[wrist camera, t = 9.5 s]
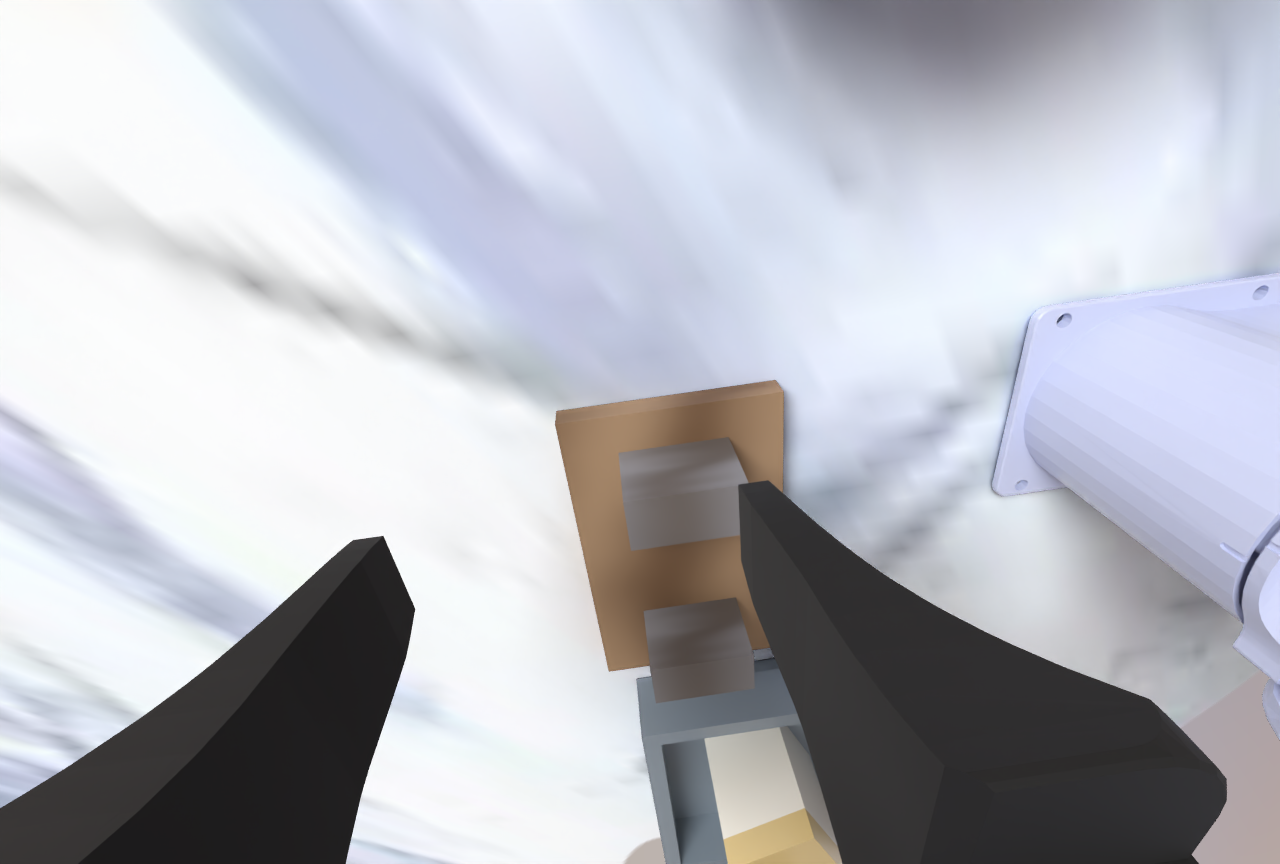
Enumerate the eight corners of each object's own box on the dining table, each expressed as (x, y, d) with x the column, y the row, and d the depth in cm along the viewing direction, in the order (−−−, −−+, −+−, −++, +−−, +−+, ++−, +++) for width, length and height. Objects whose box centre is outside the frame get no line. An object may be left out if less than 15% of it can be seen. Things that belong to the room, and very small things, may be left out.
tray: (873, 643, 28) (902, 697, 26) (855, 787, 35) (877, 842, 32) (636, 679, 28) (641, 737, 25) (661, 817, 34) (668, 875, 32)
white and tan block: (773, 708, 29) (814, 838, 24) (809, 754, 31) (853, 883, 26) (704, 737, 30) (729, 870, 25) (744, 781, 32) (774, 911, 27)
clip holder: (775, 380, 21) (813, 433, 17) (775, 628, 27) (802, 704, 24) (556, 411, 21) (550, 471, 17) (608, 653, 27) (611, 733, 24)
